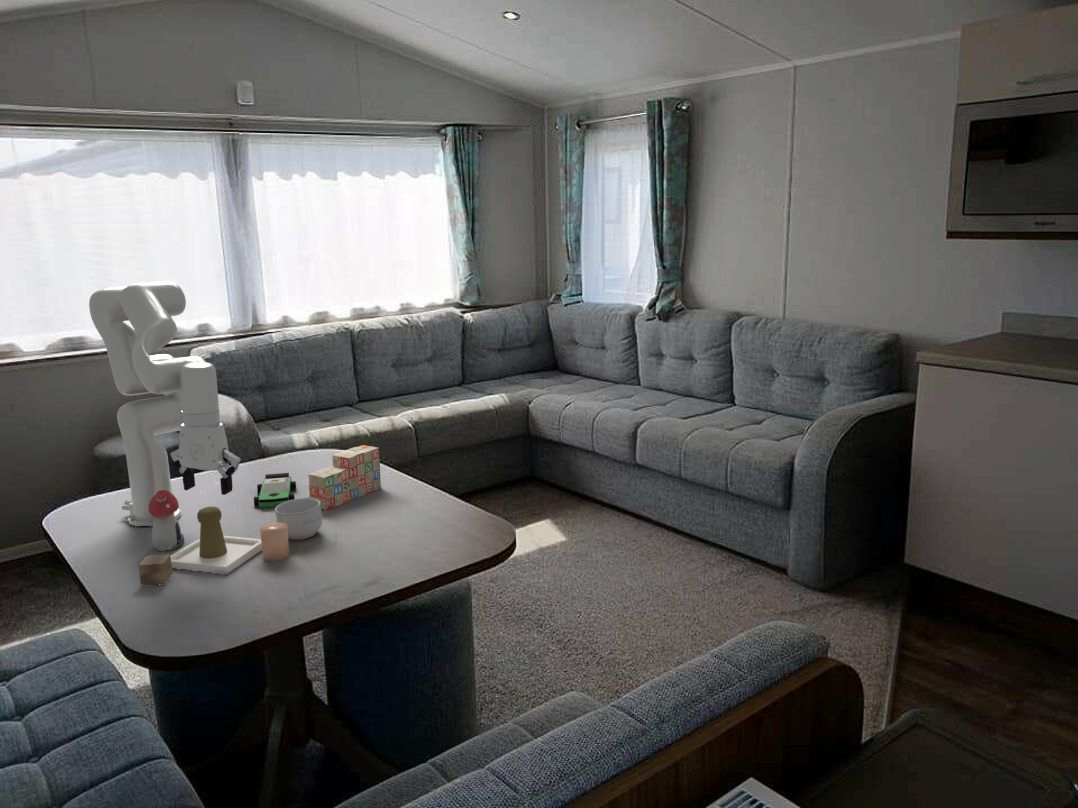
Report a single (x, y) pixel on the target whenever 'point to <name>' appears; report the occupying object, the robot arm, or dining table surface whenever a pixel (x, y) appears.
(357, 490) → the stack of blocks
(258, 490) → the toy car
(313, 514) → the teacup
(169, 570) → the walnut block
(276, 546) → the peach rounded cylinder
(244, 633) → the dining table surface
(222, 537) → the cork
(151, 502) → the decorative ornament
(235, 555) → the tray
